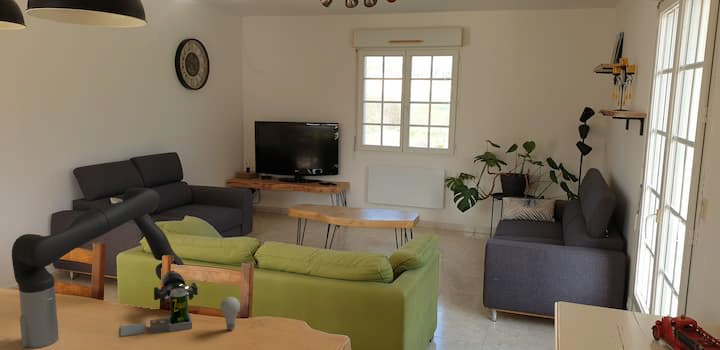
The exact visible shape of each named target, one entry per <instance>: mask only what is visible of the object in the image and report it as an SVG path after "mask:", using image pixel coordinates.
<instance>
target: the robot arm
mask: <svg viewBox="0 0 720 350" xmlns="http://www.w3.org/2000/svg"><path fill="white" fill-rule="evenodd" d="M159 203H160V195H159V193H158V192H157V191H156V190H154V189H152V188H148V187H130V188H127V190H125V192H124V194H123V195H122V201H117V202H113V203H108V204H104V205H99V206H96V207H94V208H92V209H89V210H87V211H85V212H83V213H81V214H79V215H78V216H76V217H75V218H74V219H73V220H72V222H70V225H69V226H67V227H66V228H64V229H63V230H61V231H57V232H55V233H53V234H50V235H38V234H33V233H26V234H25V233H24V234H22V235H20V236H19V237H17V238H16V239H15V240H14V242H13V245H12V248H11V262H12V269H13V275H14V276H13V277H14V280H15V282H16V284H17V286H18V292H19V294H18V295H19V303H20V304H19V305H20V314H21V315H20V316H19V323H20V324H19V325H20V335H21V346H22V349H23V348H24V349H25V348H28V349H29V348H31V349H37V348H43V347H47V346H50V345H52V344H54V343H56V342H57V341H58V340H59V339H60V338H59V337H60V336H59V327H58V326H59V324H58V311H57V300H56V299H57V298H56V288H55V287H56V285H55V284H56V283H55V278H54V275H52V273H50V271H48V269H47V268H46V267H47V266H50V265H52V264H54V263H55V262H56V261H58V260H60V259H61V258H63V257H64V256H66V255H67V254H69V253H71V252H72V251H74V250H76V249H77V248H80V247H81V246H84V245H86V244H87V243H89V242H91V241H93V240H96V239H98V238H100V237H102V236H104V235H106V234H108V233H109V232H111V231H113V230H115V229H117V228H119V227H120V226H122V225H124V224H126V223H128V222H130V221H133V222H134V223H135V225H136V226H137V227H138V229H139V230H140V233H141V234H142V235H143V236H144V239H145V240H146V242H147V245H148V247H149V249H150V252H151V253H152V254H151V255H152V256H153V258H154V259H155V260H157V261H163V260H162V256H163V255H173V256H174V261H173V263H174V264H177V265H184V266H185V264H184V262H183V260H182V259H181V258H180V256H178V255H177V254H176V253H175V251H174V250H173V248H172V246H171V244H170V242H169V239H168V237H167V235H166V234H165V232H164V230H163V229H162V228H161V227H160V226H158V225H157V224H156V223H155V221H154V220H153V219H152V217H151V216H150V214H151V213H152V212H154V211H155V210H156V209H157V208H158V206H159V205H160V204H159ZM161 268H162V262H160V263H159V264H157V265H156V266H155V275H156V276H157V278H158V279H159V281H161ZM182 276H183V275H182ZM182 276H181V275H180V274H179V273H177V272H175V271H169V272H167V273H166V274H165V275H164V276H163V279H162V281H161V283H162V284H161V285H162V288H159V287H158V286H155V287H154V288H153V300H154V301H158V300H159V301H160V303H162V304H165V303H166V299H168V300H169V298H170V293H171V290H173V289H177V288H184V289H186V291H187V297H188V300H189V301H192V299H194V297H195V296H198V294H199V292H198V289H199V288H198V285H196V283H195V282H191V284H190V285H188V284H187V283H186V282H185V279H183V278H184V277H183V278H182Z"/></svg>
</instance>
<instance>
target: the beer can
mask: <svg viewBox="0 0 720 350" xmlns="http://www.w3.org/2000/svg"><path fill="white" fill-rule="evenodd" d="M169 298H170V299H169V301H170V305H169V306H170V307H169V308H170V317H171V324H177V323H184V322H188V314H189V305H188V304H189V303H188V300H189V297H188V296H187V291H186V289H184V288H177V289H173V290H171V293H170V297H169Z"/></svg>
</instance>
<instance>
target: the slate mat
mask: <svg viewBox="0 0 720 350" xmlns="http://www.w3.org/2000/svg"><path fill="white" fill-rule="evenodd" d="M144 334H148V332H147V322H141V323H134V324H125V325H120V338H122V337H123V338H124V337H129V336H130V337H131V336H137V335H144Z"/></svg>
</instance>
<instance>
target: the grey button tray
mask: <svg viewBox="0 0 720 350" xmlns="http://www.w3.org/2000/svg"><path fill="white" fill-rule="evenodd" d="M191 317H192V316H191V313H188V322H184V323H177V324H171V316H167V317H164V318H156V319H150V320H149V328H150V334H157V333H158V334H159V333H164V332H165V333H166V332H169V333H170V332H177V331H178V332H180V331H185V330H193V321H192V318H191Z"/></svg>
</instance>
